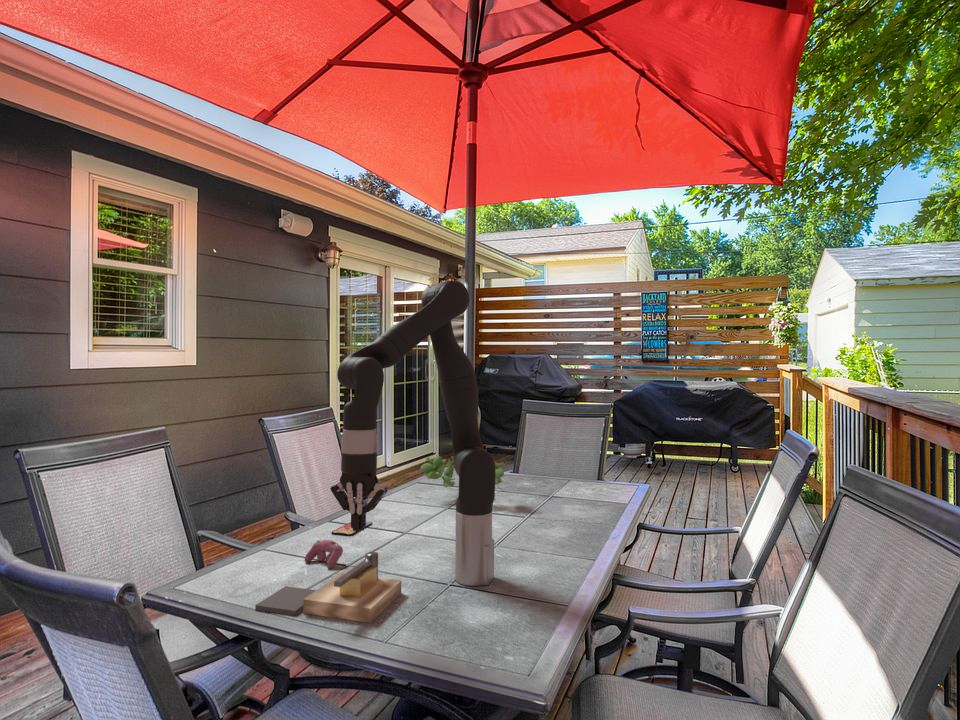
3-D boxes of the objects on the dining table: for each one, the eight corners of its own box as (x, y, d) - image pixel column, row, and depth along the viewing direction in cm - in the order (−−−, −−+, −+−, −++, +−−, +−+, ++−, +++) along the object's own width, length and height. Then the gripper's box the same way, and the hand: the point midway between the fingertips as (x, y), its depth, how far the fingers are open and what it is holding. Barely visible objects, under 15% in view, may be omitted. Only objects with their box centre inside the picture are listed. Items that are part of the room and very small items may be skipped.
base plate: (401, 593, 134) (401, 580, 134) (370, 622, 118) (370, 608, 118) (340, 585, 138) (340, 573, 138) (303, 613, 123) (303, 599, 123)
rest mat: (322, 595, 132) (322, 591, 132) (295, 615, 122) (295, 610, 122) (285, 590, 135) (285, 586, 135) (255, 609, 124) (255, 605, 124)
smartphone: (373, 522, 191) (350, 534, 177) (373, 525, 191) (350, 537, 177) (354, 520, 193) (330, 532, 179) (354, 523, 193) (330, 535, 179)
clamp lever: (368, 575, 136) (368, 551, 136) (380, 576, 135) (380, 552, 135) (330, 605, 119) (330, 577, 119) (343, 606, 118) (343, 579, 118)
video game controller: (339, 571, 152) (347, 544, 154) (328, 568, 148) (337, 541, 151) (313, 564, 157) (321, 539, 159) (301, 561, 153) (310, 535, 156)
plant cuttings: (430, 512, 232) (410, 488, 215) (441, 474, 242) (422, 448, 225) (512, 521, 219) (497, 496, 203) (519, 481, 229) (506, 454, 213)
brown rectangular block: (376, 584, 131) (376, 567, 131) (360, 598, 123) (360, 579, 124) (357, 582, 133) (357, 565, 133) (339, 595, 125) (339, 577, 125)
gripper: (395, 449, 123) (393, 528, 123) (340, 445, 127) (339, 523, 127) (379, 454, 116) (378, 538, 116) (322, 450, 120) (321, 532, 120)
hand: (358, 530), depth 122 cm, fingers closed
